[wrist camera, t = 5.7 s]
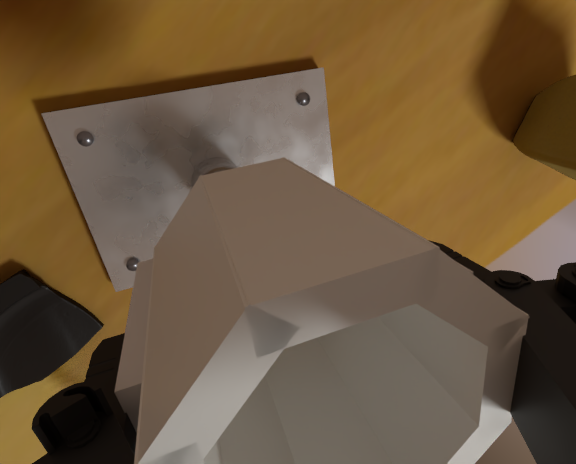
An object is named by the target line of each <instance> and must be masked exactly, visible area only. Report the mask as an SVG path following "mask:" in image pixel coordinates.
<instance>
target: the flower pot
mask: <svg viewBox="0 0 576 464" xmlns="http://www.w3.org/2000/svg"><path fill="white" fill-rule="evenodd" d="M513 143H514V145H515V146H516V147H517V148H518V150H519V151H521V152H522V153H523V154H525V155H526V156H528V157H530V158H532V159H534V160H537V161H539V162H541V163H543V164H545V165H547V166H549V167H551V168H553V169H554V170H556V171H558V172H560V173H562V174H564V175H566V176H568V177H570V178H572V179H574V180H576V75H573V76H570V77H567V78H565V79H563V80H560V81H558V82H556V83H554V84H553V85H551V86H549V87H548V88H546V89H545V90H543V91H542V92H541V93H539V94H538V95H537V96H536V97H535V98H534V100H533V102H532V104H531V106H530V108H529V110H528V112H527V114H526V116H525V118H524V120H523V122H522V124H521V125H520V127H519V129H518V131H517V133H516V135H515V137H514V139H513Z"/></svg>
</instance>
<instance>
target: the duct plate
mask: <svg viewBox="0 0 576 464" xmlns="http://www.w3.org/2000/svg"><path fill="white" fill-rule="evenodd" d="M41 114H42V116H43V119H44V121H45V124H46V126H47V128H48V131H49V133H50V136H51V138H52V140H53V143H54V145H55V147H56V150H57V152H58V155H59V157H60V159H61V162H62V164H63V167H64V169H65V171H66V174H67V176H68V179H69V181H70V183H71V186H72V188H73V190H74V193H75V195H76V198H77V200H78V202H79V205H80V207H81V210H82V212H83V214H84V217H85V219H86V222H87V224H88V226H89V229H90V231H91V233H92V236H93V238H94V241H95V243H96V245H97V248H98V250H99V253H100V255H101V257H102V260H103V262H104V265H105V267H106V269H107V272H108V274H109V276H110V279H111V281H112V284H113V286H114V288H115V291H116V292H117V291H121V290H125V289H128V288H132V287H133V286H134V280H135V275H136V269H137V264H138V263H139V262H143V261H146V260H150V259H153V255H154V246H156V245H157V243H158V241H159V240H160V238H161V237H162V235H163V234H164V232H165V230H166V229H167V227H168V226H169V224H170V222H171V221H172V219H173V218H174V216H175V215H176V213H177V211H178V210H179V208H180V207H181V205H182V203H183V202H184V200H185V199H186V197H187V196H188V194H189V192H190V191H191V189H192V188H193V186H194V184H195V183H196V181H197V180H198V178H199V176H200V175H201V176H202V175H206V174H211V173H216V172H220V171H225V170H229V169H234V168H238V167H243V166H248V165H252V164H257V163H261V162H266V161H270V160H275V159H280V158H282V157H283V158H284V157H285V158H286V159H288V160H290V161H292V162H293V163H295V164H297V165H298V166H300V167H302V168H304V169H305V170H307V171H309V172H311V173H312V174H314V175H316V176H317V177H319V178H321V179H323V180H324V181H326V182H328V183H330V184H331V185H333V186H335V183H334V172H333V162H332V151H331V141H330V130H329V119H328V109H327V98H326V88H325V77H324V68H317V69H311V70H305V71H299V72H293V73H286V74H280V75H274V76H268V77H262V78H256V79H250V80H243V81H237V82H231V83H225V84H219V85H213V86H207V87H200V88H194V89H188V90H182V91H176V92H170V93H164V94H157V95H151V96H145V97H139V98H133V99H127V100H121V101H114V102H108V103H102V104H96V105H90V106H84V107H78V108H71V109H65V110H59V111H53V112H47V113H41Z"/></svg>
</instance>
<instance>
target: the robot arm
mask: <svg viewBox="0 0 576 464" xmlns="http://www.w3.org/2000/svg"><path fill="white" fill-rule="evenodd" d="M428 241H429V240H428ZM430 242H432V243H433V244H435V245H437V246H439V247H440V250H441V251H442V252H444V253H445V254H446V255H448V256H449V257H450V258H452V259H453V260H454V261H456V262H457V263H458V264H460V265H461V266H462V267H464V268H465V269H466V270H468V271H469V272H470V273H472V274H473V275H474V276H476V277H477V278H478V279H480V280H481V281H482V282H484V283H485V284H486V285H487V286H489V287H490V288H491V289H493V290H494V291H495V292H497V293H498V294H499V295H501V296H502V297H503V298H505V299H506V300H507V301H509V302H510V303H511V304H513V305H514V306H516V307H517V308H519V309H520V310H522V311H524V312H525V313H527V314H528V315H529V319H528V323H527V329H526V335H524V336H523V337H522V343H521V349H520V355H519V361H518V367H517V373H516V379H515V385H514V391H513V397H512V403H511V409H510V413H511V415H512V417H513V419H514V421H515V423H516V425H517V427H518V428H519V430H520V432H521V434H522V436H523V438H524V440H525V442H526V444H527V446H528V448H529V449H530V451H531V453H532V455H533V457H534V459H535V461H536V463H537V464H576V263H567V264H564V265H561V266H560V268H559V269H558V273H557V278H556V279H553V280H542V281H534V280H532V279H531V278H530V277H528V276H527V275H524V274H521V273H519V272H514V271H505V270H499V271H493V272H491V271H489V270H487V269H486V268H484V267H482V266H480V265H479V264H477V263H475V262H473V261H471V260H470V259H468V258H466V257H462V255H461V254H459V253H457V252H454V251H453V250H452V249H450V248H448V247H447V246H445V245H443V244H440V243H436V242H433V241H430ZM152 266H153V259H150V260H146V261H143V262H139V263H138V264H137V269H136V275H135V280H134V286H133V291H132V297H131V302H130V308H129V314H128V319H127V325H126V330H125V333H124V334H121V335H117V336H114V337H111V338H107V339H104V340H102V342H101V343H100V344H99V345H98V347H97V348H96V349H95V351H94V352H93V353H92V357H91V360H90V364H89V369H88V370H87V374H86V379H85V381H84V382H82V383H77V384H74V385H71V386H69V387H67V388H65V389H63V390H61V391H59V392H58V393H57V394H55V395H54V396H52V397H51V398H49V399H48V400H47V401H46V402H45V403H44V404H43V405H42V406H41V407H40V408H39V410H38V412H37V413H36V415H35V417H34V418H33V423H32V430H33V431H34V433H35V434H36V436H37V437H38V439H39V440H40V442H41V443H42V445H43V446H44V448H45V449H46V451H47V452H48V453H47V454H46V455H44V456H43V457H41V458H40V459H38V460H37V461H35V462H34V463H32V464H134V459H135V448H136V437H137V427H138V416H139V405H140V395H141V384H142V373H143V362H144V352H145V341H146V330H147V320H148V309H149V298H150V287H151V277H152Z"/></svg>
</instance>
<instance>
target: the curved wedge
mask: <svg viewBox="0 0 576 464" xmlns="http://www.w3.org/2000/svg"><path fill="white" fill-rule="evenodd" d="M103 325H104V324H103V323H102V322H101V321H100V320H99V319H98V318H97V317H96V316H95V315H93V314H92V313H91V312H90V311H89V310H87V309H86V308H85V307H83V306H82V305H80V304H79V303H77V302H76V301H74V300H72V299H70V298H69V297H67V296H65V295H63V294H61V293H60V292H58V291H55V290H53V289H51V288H49V287H47V286H46V285H44V284H42V283H41V282H39V281H38V280H36V279H34V278H33V277H31V276H30V275H29V274H28V273H27V272H26V270H25V269H23V270H21V271H19V272H18V273H16V274H15V275H13V276H11V277H10V278H9V279H7V280H6V281H4V282H3V283H2V284H0V398H1V397H2V396H4V395H5V394H7V393H9V392H11V391H14V390H16V389H19V388H22V387H25V386H28V385H30V384H32V383H35V382H39V381H41V380H43V379H44V378H45V377H47V376H49V375H50V374H51V373H52V372H54V371H55V370H56V369H58V368H59V367H60V366H61V365H63V364H64V363H65V362H67V361H68V360H69V359H70V358H72V357H73V356H74V355H75V354H76V353H77V352H78V351H79V350H80V349H81V348H82V347H83V346H84V345H85V344H86V343H87V342H89V340H90V339H91V338H92V337H93V336H94V335H95V334H96V333H97V332H98V331H99V330H100V329H101V328H102V327H103Z"/></svg>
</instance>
